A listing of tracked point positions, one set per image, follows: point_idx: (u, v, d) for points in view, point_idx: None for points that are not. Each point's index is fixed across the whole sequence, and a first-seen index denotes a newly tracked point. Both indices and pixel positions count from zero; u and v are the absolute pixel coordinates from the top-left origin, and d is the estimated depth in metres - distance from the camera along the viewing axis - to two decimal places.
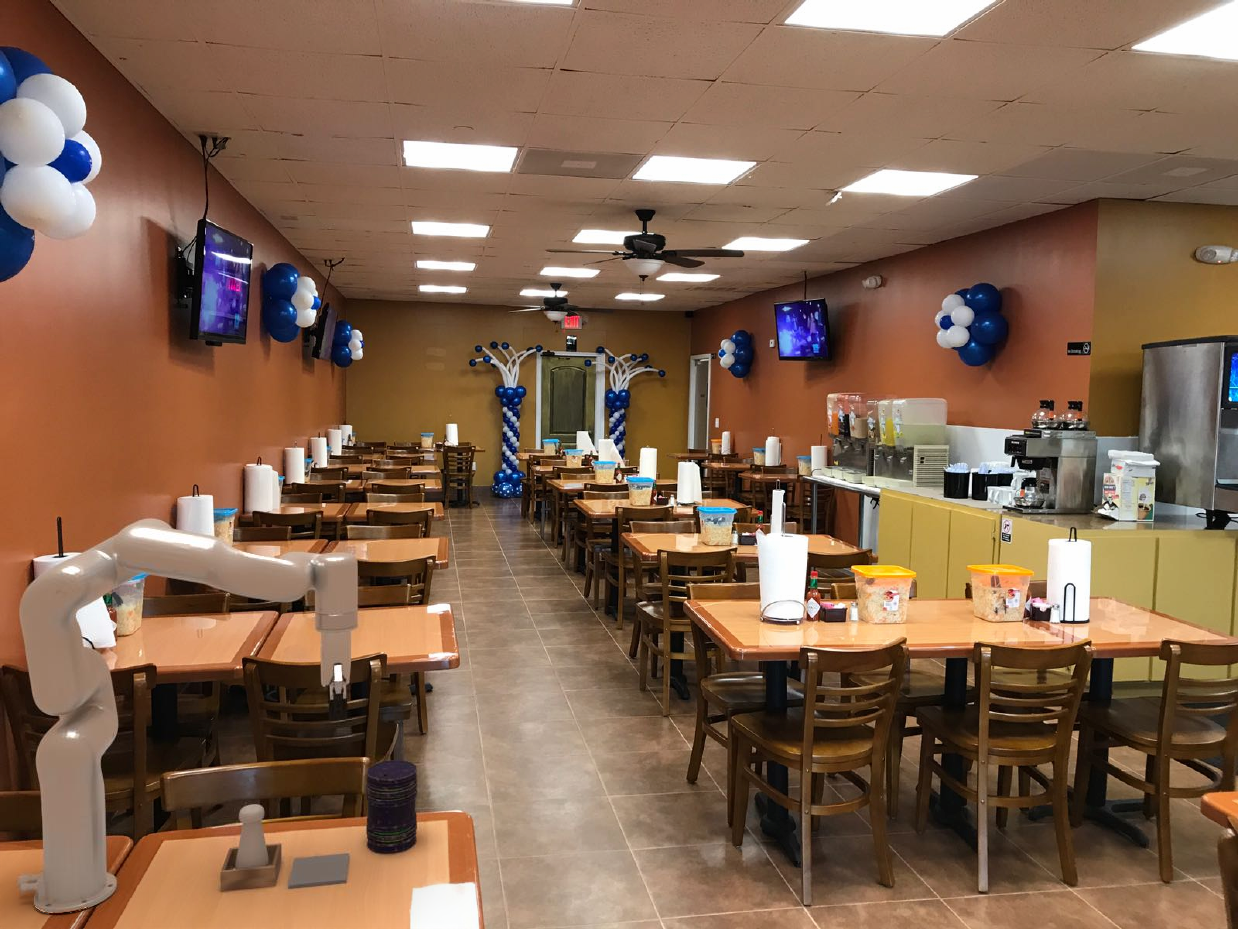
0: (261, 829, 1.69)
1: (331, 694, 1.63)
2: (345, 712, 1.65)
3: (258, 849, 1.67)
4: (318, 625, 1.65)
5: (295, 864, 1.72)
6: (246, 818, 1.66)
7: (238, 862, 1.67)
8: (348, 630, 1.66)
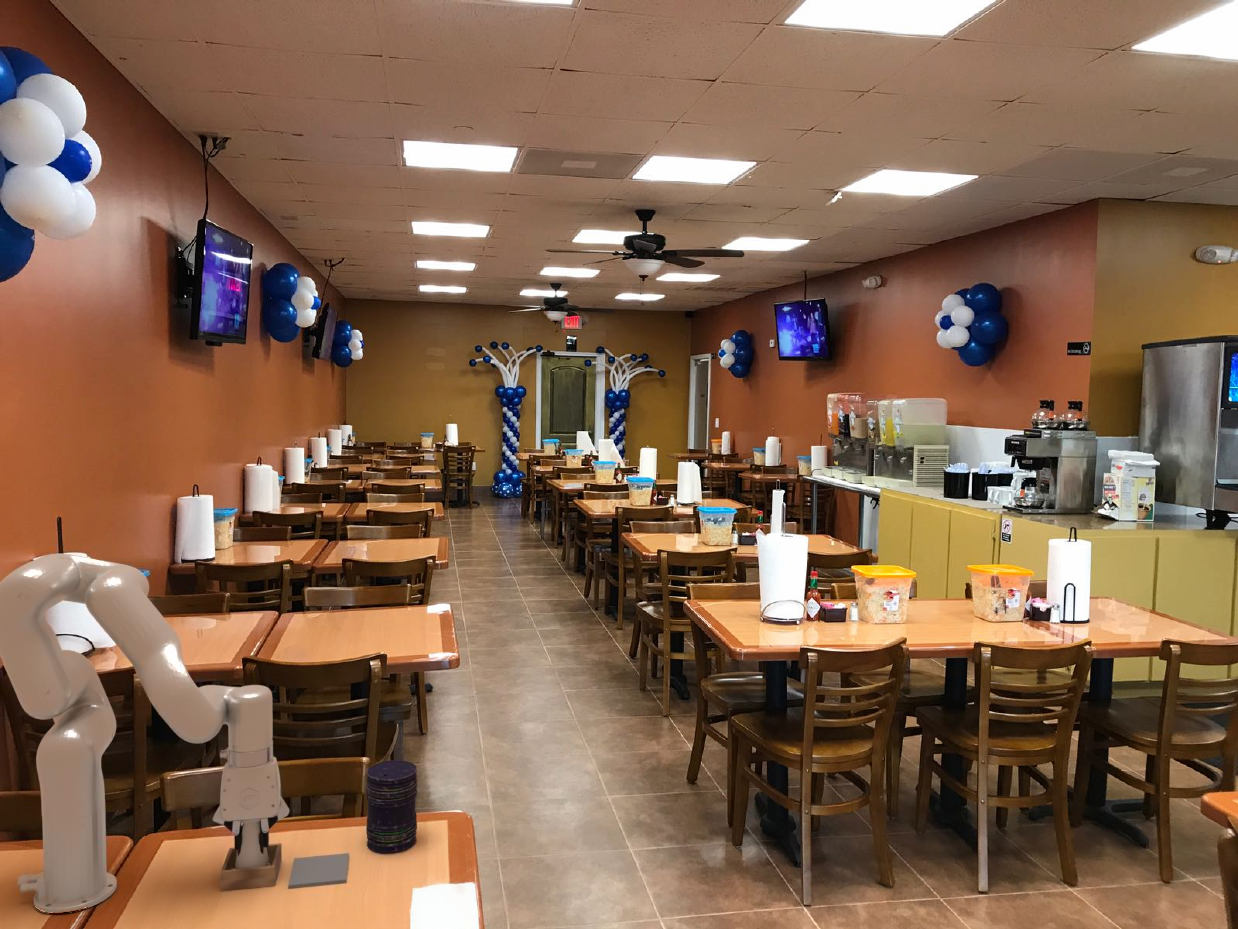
0: None
1: (268, 827, 1.68)
2: None
3: (258, 849, 1.67)
4: (259, 762, 1.65)
5: (295, 864, 1.72)
6: None
7: (238, 862, 1.67)
8: None
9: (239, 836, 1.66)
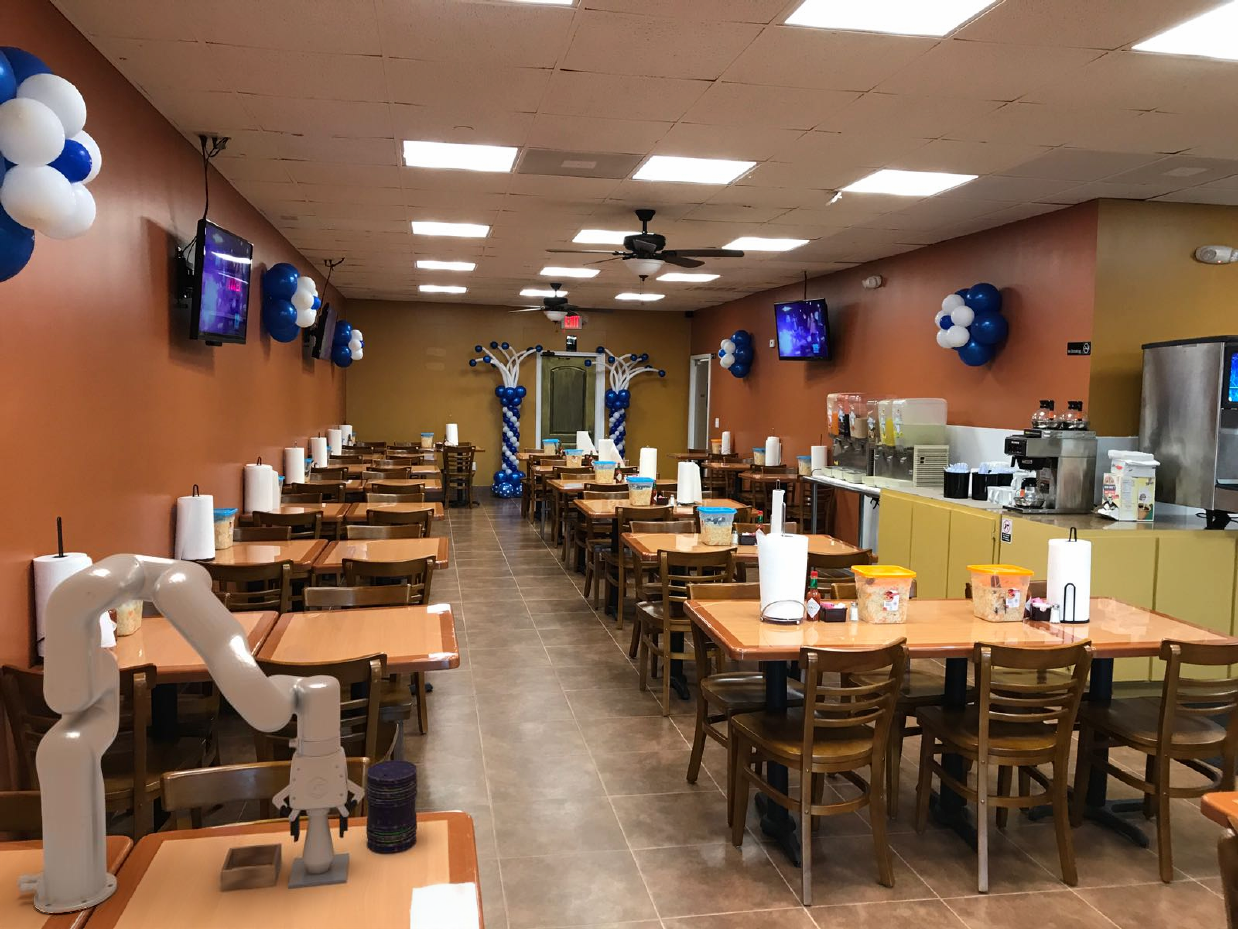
0: (327, 822, 1.70)
1: (347, 810, 1.70)
2: None
3: (325, 842, 1.69)
4: (328, 751, 1.66)
5: (295, 864, 1.72)
6: (314, 811, 1.68)
7: (305, 854, 1.68)
8: None
9: (295, 822, 1.68)
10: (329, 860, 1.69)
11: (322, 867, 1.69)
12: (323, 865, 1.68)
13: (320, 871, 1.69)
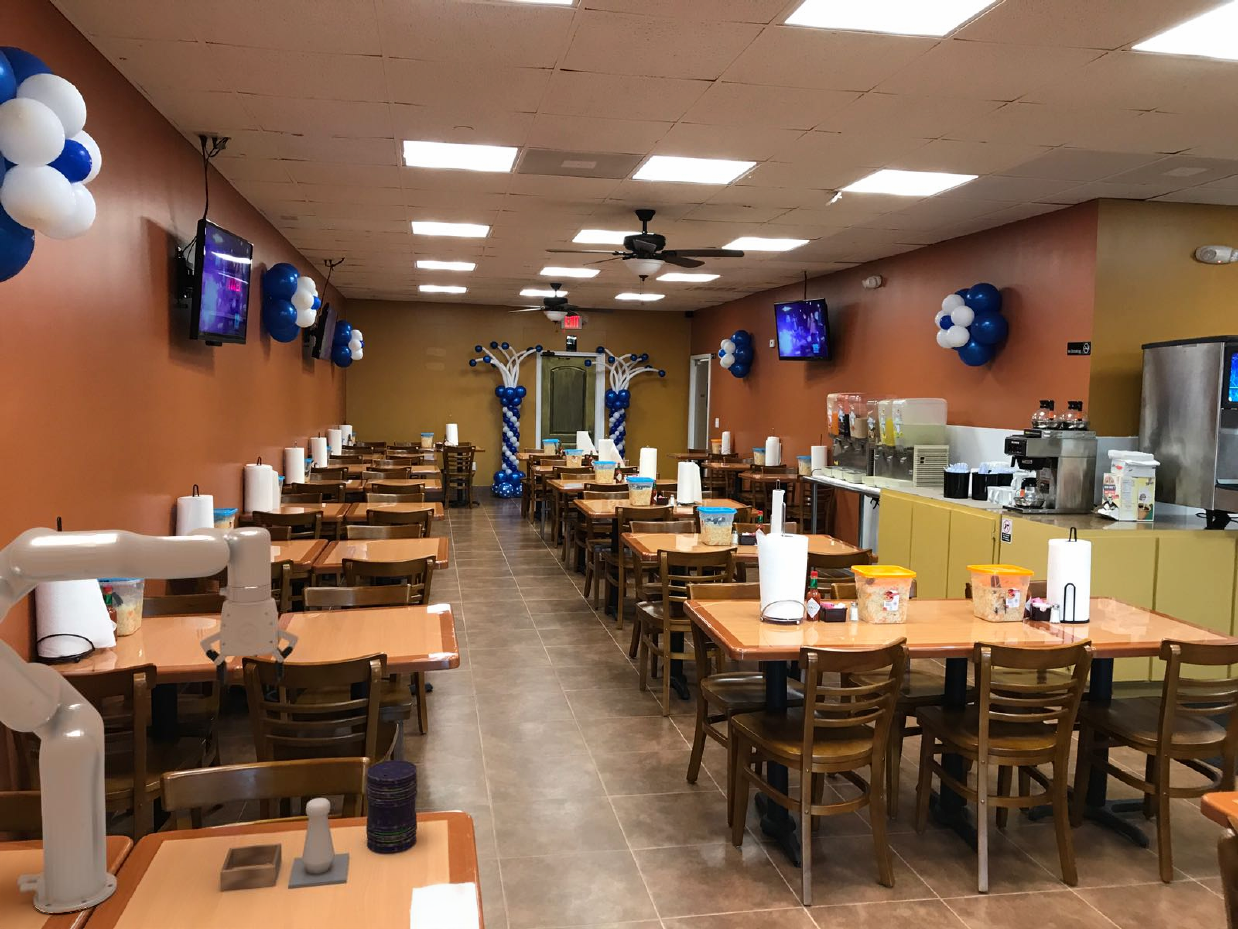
0: (327, 822, 1.70)
1: (282, 656, 1.73)
2: None
3: (325, 842, 1.69)
4: (258, 598, 1.69)
5: (295, 864, 1.72)
6: (314, 811, 1.68)
7: (305, 855, 1.68)
8: None
9: (221, 666, 1.70)
10: (329, 860, 1.69)
11: (322, 868, 1.69)
12: (323, 865, 1.68)
13: (320, 871, 1.69)
